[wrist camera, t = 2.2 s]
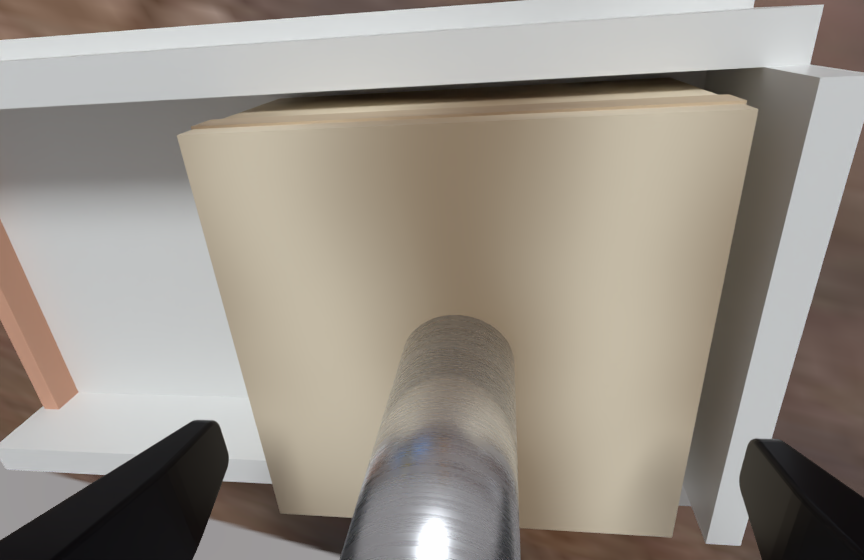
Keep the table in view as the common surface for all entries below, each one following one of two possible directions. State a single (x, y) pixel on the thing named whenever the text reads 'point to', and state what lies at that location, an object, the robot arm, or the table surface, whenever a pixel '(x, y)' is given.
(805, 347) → the table surface
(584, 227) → the beige knobbed block
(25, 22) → the table surface
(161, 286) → the bay
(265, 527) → the table surface
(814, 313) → the table surface
